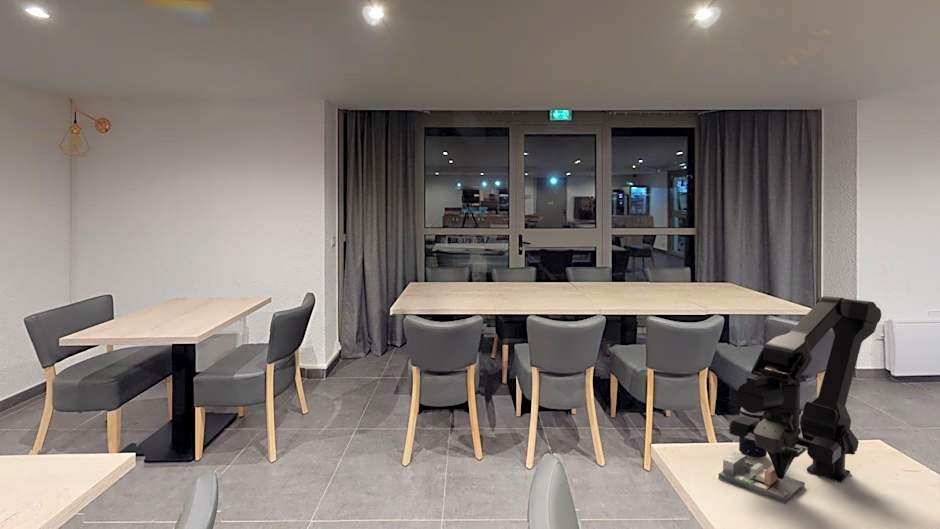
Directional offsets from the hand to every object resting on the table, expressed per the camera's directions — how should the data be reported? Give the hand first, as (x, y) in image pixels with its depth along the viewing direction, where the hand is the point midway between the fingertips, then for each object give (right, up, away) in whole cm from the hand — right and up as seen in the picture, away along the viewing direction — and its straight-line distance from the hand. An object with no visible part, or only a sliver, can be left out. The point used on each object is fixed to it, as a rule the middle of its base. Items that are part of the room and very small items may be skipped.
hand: (780, 478), depth 100 cm
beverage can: (+3, -2, +16) cm, 16 cm away
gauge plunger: (-3, -1, +2) cm, 3 cm away
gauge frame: (-2, -2, +3) cm, 5 cm away
